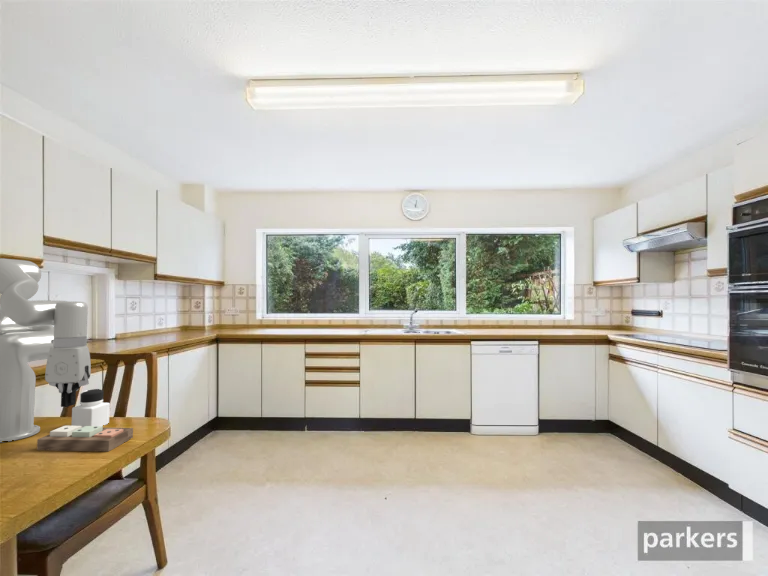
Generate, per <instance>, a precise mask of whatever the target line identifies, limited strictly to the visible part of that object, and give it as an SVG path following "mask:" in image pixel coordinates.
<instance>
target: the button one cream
mask: <svg viewBox="0 0 768 576" xmlns="http://www.w3.org/2000/svg"><path fill="white" fill-rule="evenodd" d="M80 428H82V426H72V425H62V426H61V427H58V428H56V429H53V430H50V431H49V434H50V436H51V437H68V436H70V435H72V432H73V431H75V430H78V429H80Z"/></svg>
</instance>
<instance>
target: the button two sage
mask: <svg viewBox="0 0 768 576" xmlns="http://www.w3.org/2000/svg"><path fill="white" fill-rule="evenodd" d="M103 428H104V426H85V427H82V428H80V429H78V430H75V431H73V432H72V437H91V436H93V435H95V434H97V433H99V432H102V431H103Z"/></svg>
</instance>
